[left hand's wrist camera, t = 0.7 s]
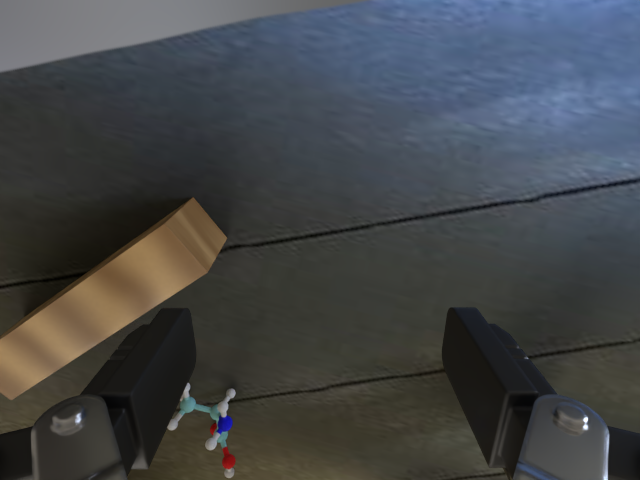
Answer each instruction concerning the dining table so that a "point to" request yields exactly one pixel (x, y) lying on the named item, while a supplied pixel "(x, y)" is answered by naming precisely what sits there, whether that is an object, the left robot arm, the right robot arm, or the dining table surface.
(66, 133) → the dining table surface
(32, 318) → the bar
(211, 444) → the molecular model
